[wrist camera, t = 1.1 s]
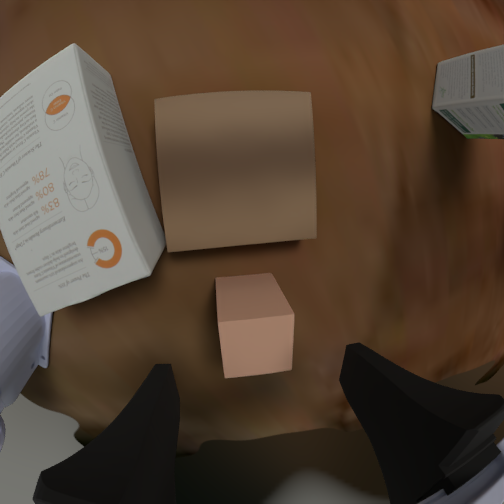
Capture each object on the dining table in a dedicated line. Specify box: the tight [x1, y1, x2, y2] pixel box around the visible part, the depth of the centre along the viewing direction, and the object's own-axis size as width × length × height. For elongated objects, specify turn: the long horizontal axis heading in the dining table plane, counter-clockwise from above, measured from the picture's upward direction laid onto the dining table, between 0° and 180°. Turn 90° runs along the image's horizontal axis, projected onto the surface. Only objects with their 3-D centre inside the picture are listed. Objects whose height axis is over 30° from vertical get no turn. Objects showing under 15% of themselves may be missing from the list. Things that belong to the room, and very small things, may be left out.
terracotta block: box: [215, 273, 294, 378], centre depth 18 cm, size 4×4×6 cm
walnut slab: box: [155, 91, 316, 252], centre depth 16 cm, size 9×9×3 cm
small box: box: [0, 43, 166, 317], centre depth 13 cm, size 8×6×13 cm
